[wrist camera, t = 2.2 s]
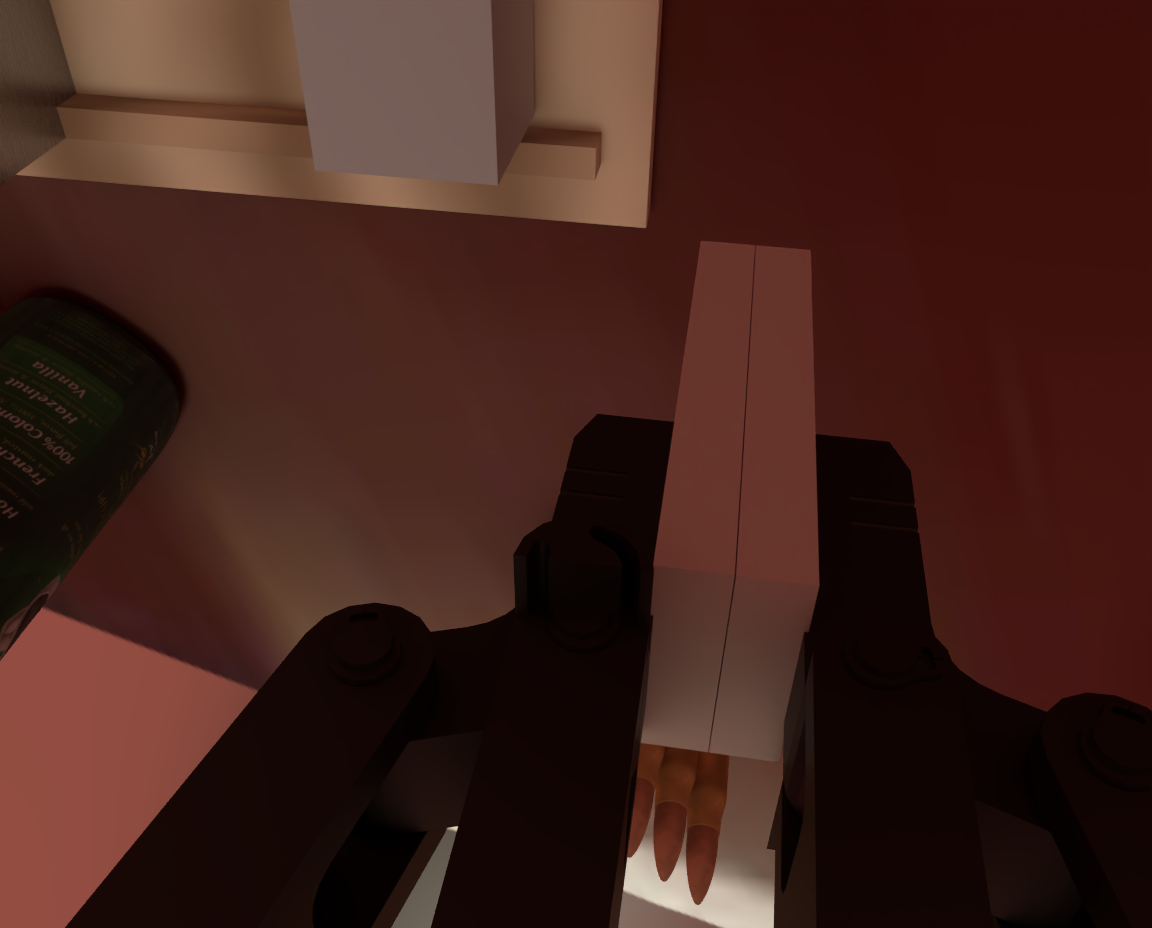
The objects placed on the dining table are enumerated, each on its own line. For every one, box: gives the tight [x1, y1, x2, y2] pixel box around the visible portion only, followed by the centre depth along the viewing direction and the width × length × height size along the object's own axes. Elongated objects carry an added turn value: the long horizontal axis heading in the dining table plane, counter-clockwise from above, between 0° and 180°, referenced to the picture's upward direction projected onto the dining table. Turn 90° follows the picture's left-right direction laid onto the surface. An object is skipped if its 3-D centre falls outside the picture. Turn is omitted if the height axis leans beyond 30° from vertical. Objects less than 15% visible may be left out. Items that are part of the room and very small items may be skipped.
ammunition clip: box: [627, 741, 729, 905], centre depth 41 cm, size 11×2×12 cm, turn 46°
